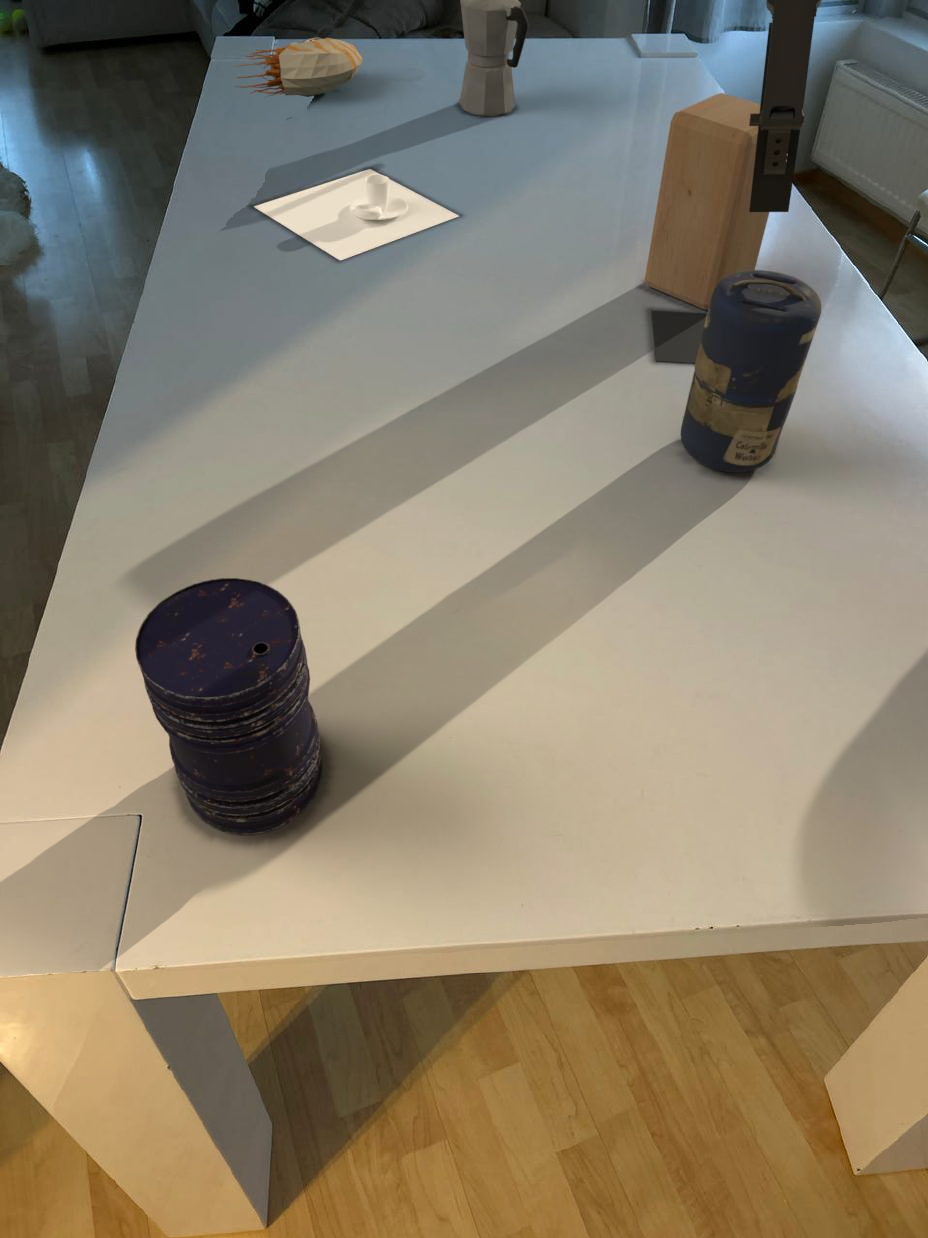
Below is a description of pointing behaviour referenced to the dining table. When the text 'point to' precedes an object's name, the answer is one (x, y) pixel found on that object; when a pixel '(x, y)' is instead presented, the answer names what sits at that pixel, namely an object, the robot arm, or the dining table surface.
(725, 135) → the wooden block
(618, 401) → the dining table surface
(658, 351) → the mat
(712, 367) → the canister
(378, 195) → the teacup and saucer
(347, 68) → the nautilus shell
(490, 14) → the coffeepot
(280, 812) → the navy cylinder
